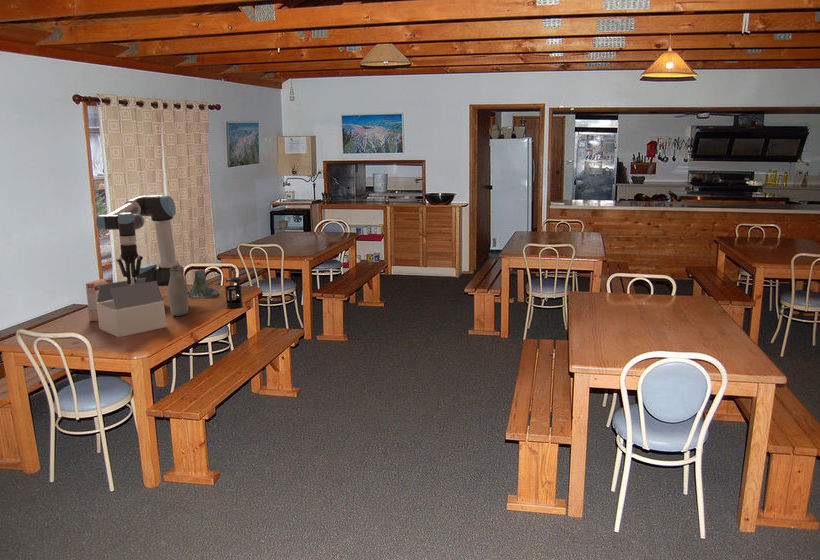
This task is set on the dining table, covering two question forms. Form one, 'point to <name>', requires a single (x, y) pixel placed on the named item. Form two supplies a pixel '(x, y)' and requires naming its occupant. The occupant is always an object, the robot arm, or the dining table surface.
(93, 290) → the cracker box
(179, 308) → the grey bottle
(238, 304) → the black lantern
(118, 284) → the flap
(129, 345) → the dining table surface
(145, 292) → the flap
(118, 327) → the carton
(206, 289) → the tree stump
